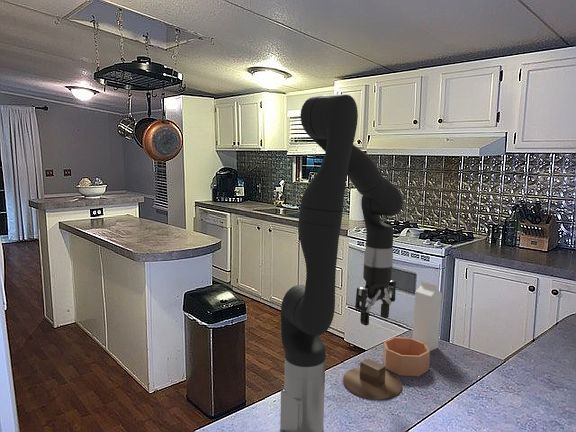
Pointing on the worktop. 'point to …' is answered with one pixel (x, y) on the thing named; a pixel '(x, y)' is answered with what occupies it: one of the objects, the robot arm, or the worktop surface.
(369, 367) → the lid
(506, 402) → the worktop surface
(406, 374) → the bowl
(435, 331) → the milk
